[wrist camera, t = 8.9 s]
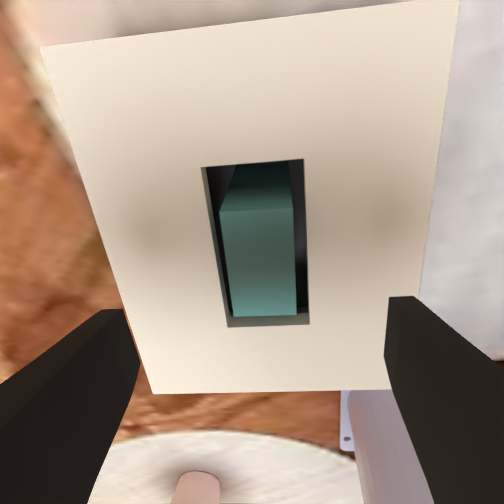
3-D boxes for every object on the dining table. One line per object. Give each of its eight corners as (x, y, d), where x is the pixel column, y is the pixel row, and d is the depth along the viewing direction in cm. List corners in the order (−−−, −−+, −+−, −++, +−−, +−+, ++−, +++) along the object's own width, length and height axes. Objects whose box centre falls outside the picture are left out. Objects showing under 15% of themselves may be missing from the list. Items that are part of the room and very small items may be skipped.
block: (291, 244, 20) (296, 315, 14) (245, 246, 20) (233, 316, 15) (288, 160, 18) (292, 208, 12) (236, 164, 18) (219, 212, 13)
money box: (375, 308, 22) (405, 389, 17) (181, 316, 23) (153, 394, 18) (396, 14, 15) (460, -6, 10) (116, 48, 16) (38, 47, 11)
